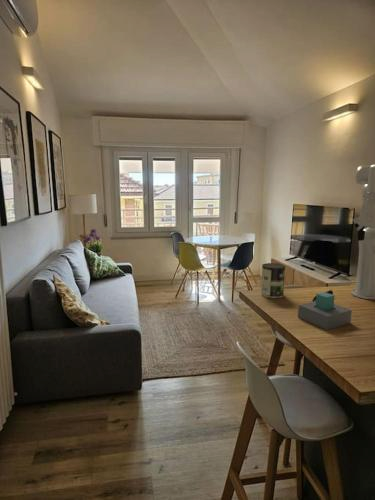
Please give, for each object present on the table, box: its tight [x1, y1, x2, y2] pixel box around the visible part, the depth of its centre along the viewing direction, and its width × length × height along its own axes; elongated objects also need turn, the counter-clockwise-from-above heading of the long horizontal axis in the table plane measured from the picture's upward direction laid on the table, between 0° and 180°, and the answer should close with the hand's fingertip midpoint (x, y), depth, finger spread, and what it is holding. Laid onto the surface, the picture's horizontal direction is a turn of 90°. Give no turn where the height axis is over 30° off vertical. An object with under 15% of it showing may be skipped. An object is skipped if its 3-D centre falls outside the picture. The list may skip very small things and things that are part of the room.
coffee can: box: [260, 262, 286, 299], centre depth 149 cm, size 10×10×14 cm
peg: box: [315, 291, 335, 311], centre depth 120 cm, size 4×4×10 cm
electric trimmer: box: [311, 289, 334, 302], centre depth 144 cm, size 4×16×3 cm, turn 133°
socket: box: [297, 301, 353, 331], centre depth 120 cm, size 13×13×5 cm
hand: (372, 242), depth 125 cm, fingers open, 9 cm apart
